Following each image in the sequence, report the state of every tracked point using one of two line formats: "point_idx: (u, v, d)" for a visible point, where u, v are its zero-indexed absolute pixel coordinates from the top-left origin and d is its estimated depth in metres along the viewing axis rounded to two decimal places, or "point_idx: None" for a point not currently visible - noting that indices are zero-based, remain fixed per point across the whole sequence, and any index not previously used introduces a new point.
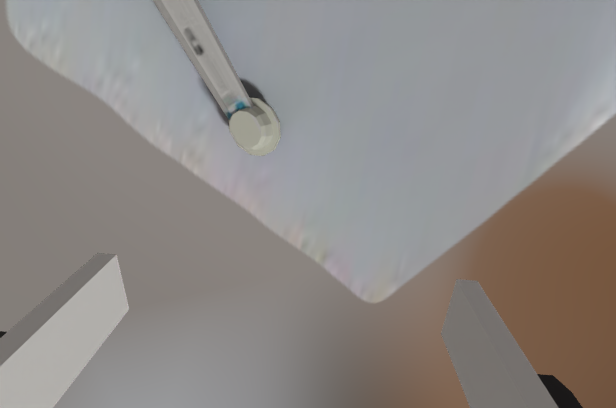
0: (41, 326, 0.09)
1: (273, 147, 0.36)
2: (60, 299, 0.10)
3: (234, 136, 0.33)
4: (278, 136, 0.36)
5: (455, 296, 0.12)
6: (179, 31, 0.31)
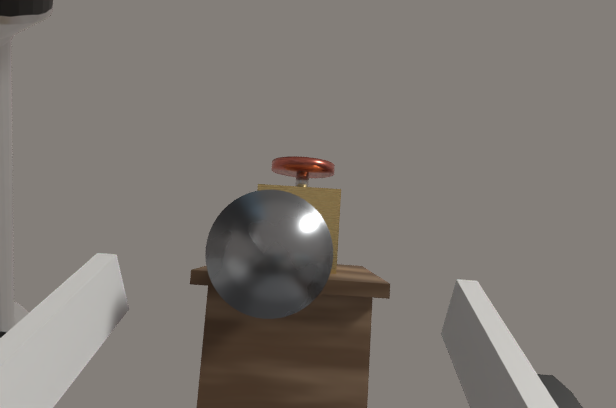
0: (41, 326, 0.09)
1: None
2: (60, 299, 0.10)
3: None
4: None
5: (455, 296, 0.12)
6: None
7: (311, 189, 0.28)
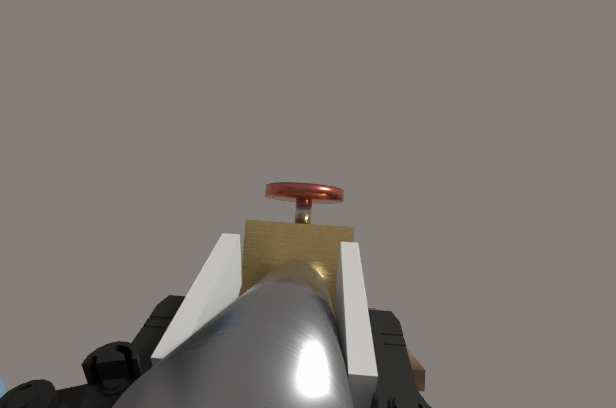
0: (213, 289, 0.11)
1: None
2: (214, 269, 0.12)
3: None
4: None
5: (339, 256, 0.14)
6: None
7: (315, 227, 0.22)
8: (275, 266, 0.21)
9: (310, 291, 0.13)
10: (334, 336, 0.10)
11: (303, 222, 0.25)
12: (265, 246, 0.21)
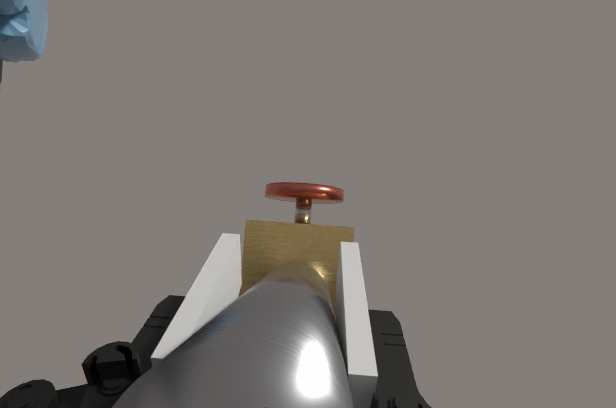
0: (213, 289, 0.11)
1: None
2: (214, 269, 0.12)
3: None
4: None
5: (339, 256, 0.14)
6: None
7: (315, 227, 0.22)
8: (275, 266, 0.21)
9: (310, 291, 0.13)
10: (334, 336, 0.10)
11: (303, 222, 0.25)
12: (265, 246, 0.21)
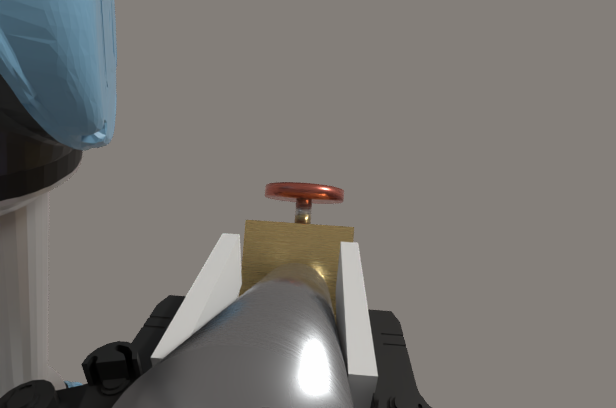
0: (213, 289, 0.11)
1: None
2: (214, 269, 0.12)
3: None
4: None
5: (339, 256, 0.14)
6: None
7: (315, 227, 0.22)
8: (275, 266, 0.21)
9: (310, 291, 0.13)
10: (334, 336, 0.10)
11: (303, 222, 0.25)
12: (265, 246, 0.21)
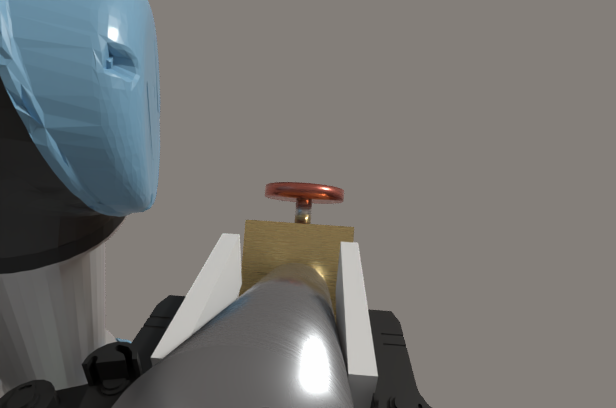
0: (213, 289, 0.11)
1: None
2: (214, 269, 0.12)
3: None
4: None
5: (339, 256, 0.14)
6: None
7: (315, 227, 0.22)
8: (275, 266, 0.21)
9: (310, 291, 0.13)
10: (334, 336, 0.09)
11: (303, 222, 0.25)
12: (265, 246, 0.21)
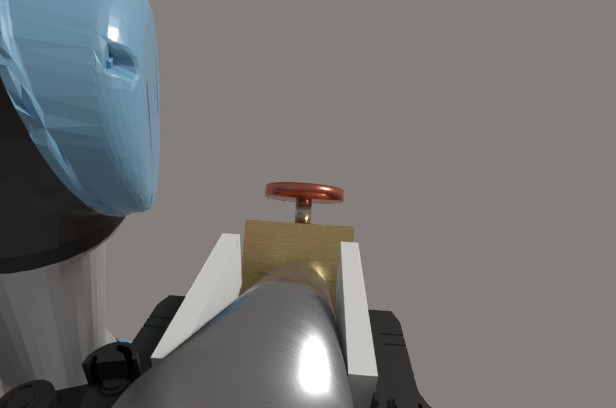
0: (213, 289, 0.11)
1: None
2: (214, 269, 0.12)
3: None
4: None
5: (339, 256, 0.14)
6: None
7: (315, 227, 0.22)
8: (275, 266, 0.21)
9: (310, 291, 0.13)
10: (334, 336, 0.09)
11: (303, 222, 0.25)
12: (265, 246, 0.21)
